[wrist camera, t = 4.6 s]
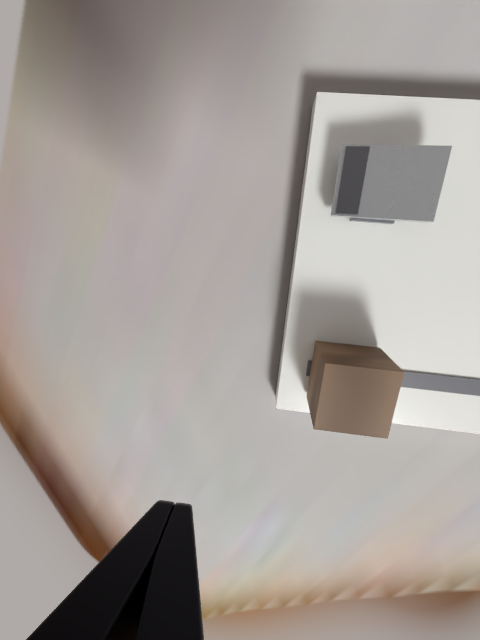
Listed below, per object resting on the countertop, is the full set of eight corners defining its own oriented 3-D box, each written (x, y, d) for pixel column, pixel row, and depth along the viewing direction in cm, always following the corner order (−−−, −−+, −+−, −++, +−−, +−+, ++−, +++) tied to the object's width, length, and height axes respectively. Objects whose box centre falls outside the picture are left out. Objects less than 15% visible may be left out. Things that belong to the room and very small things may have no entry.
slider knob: (379, 347, 17) (404, 372, 14) (367, 403, 18) (387, 438, 15) (315, 340, 17) (325, 363, 14) (306, 396, 18) (313, 429, 15)
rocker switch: (445, 151, 13) (453, 144, 12) (427, 222, 14) (434, 221, 13) (340, 150, 14) (341, 143, 13) (330, 216, 15) (330, 214, 14)
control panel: (717, 126, 14) (836, 97, 11) (576, 433, 19) (634, 470, 16) (312, 105, 15) (323, 73, 12) (275, 396, 20) (276, 423, 17)
